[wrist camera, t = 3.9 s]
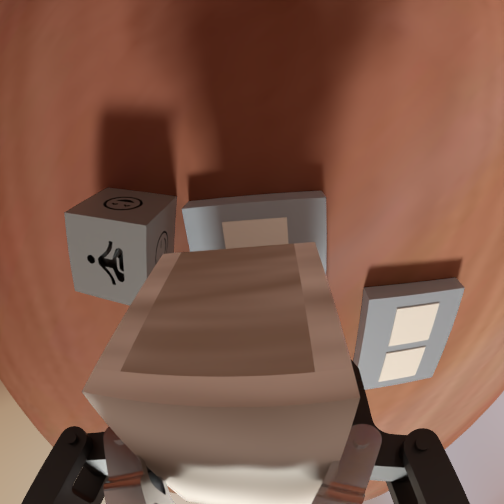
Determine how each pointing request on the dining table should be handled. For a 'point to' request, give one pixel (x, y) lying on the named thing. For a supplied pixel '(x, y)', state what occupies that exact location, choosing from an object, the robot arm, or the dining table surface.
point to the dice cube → (118, 241)
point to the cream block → (231, 375)
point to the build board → (404, 330)
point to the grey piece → (257, 221)
